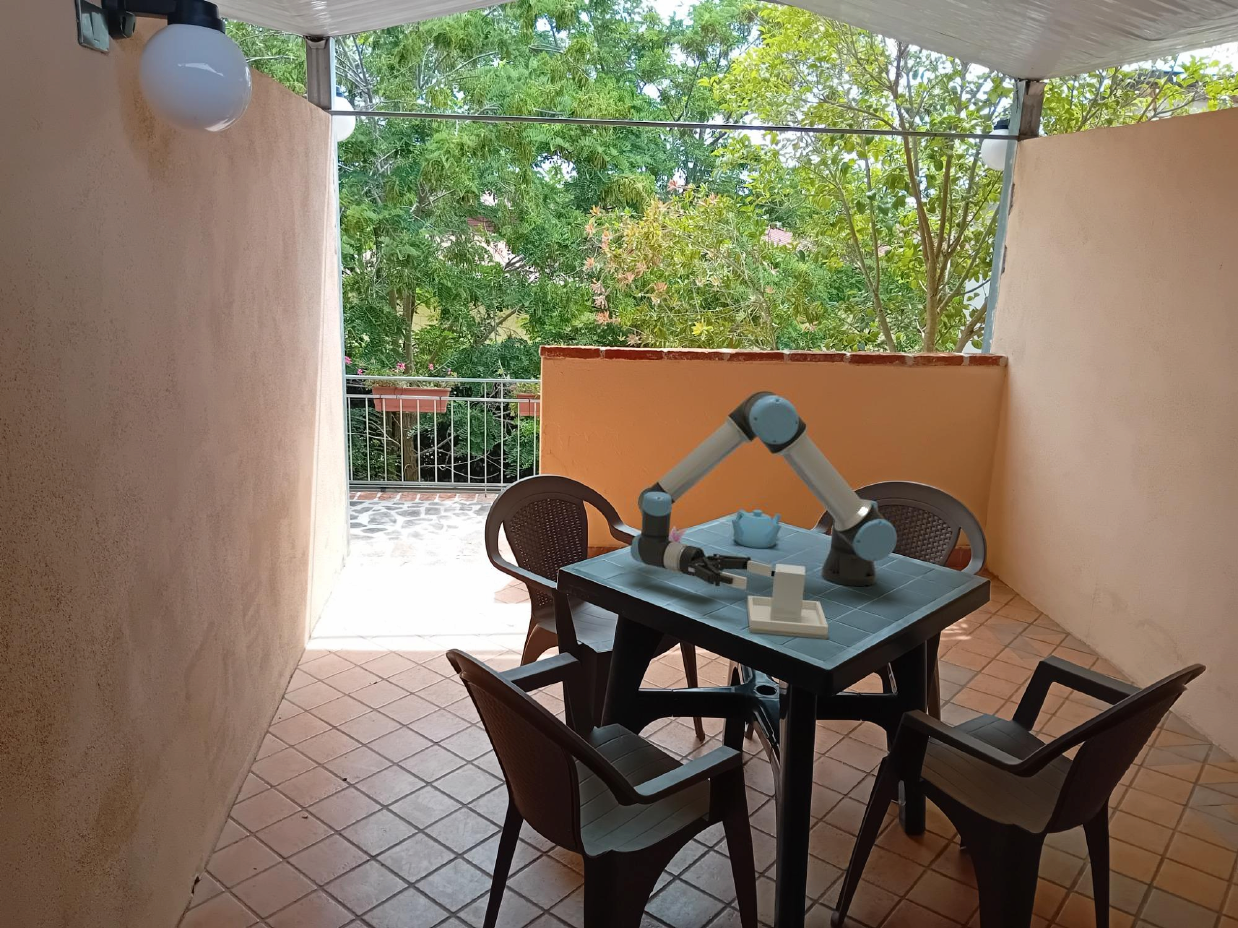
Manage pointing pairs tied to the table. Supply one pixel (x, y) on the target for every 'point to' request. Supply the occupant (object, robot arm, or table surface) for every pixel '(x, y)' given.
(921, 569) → the table surface
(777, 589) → the supplement box
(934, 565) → the table surface
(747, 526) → the teapot
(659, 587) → the table surface
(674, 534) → the lily
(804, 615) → the tray
